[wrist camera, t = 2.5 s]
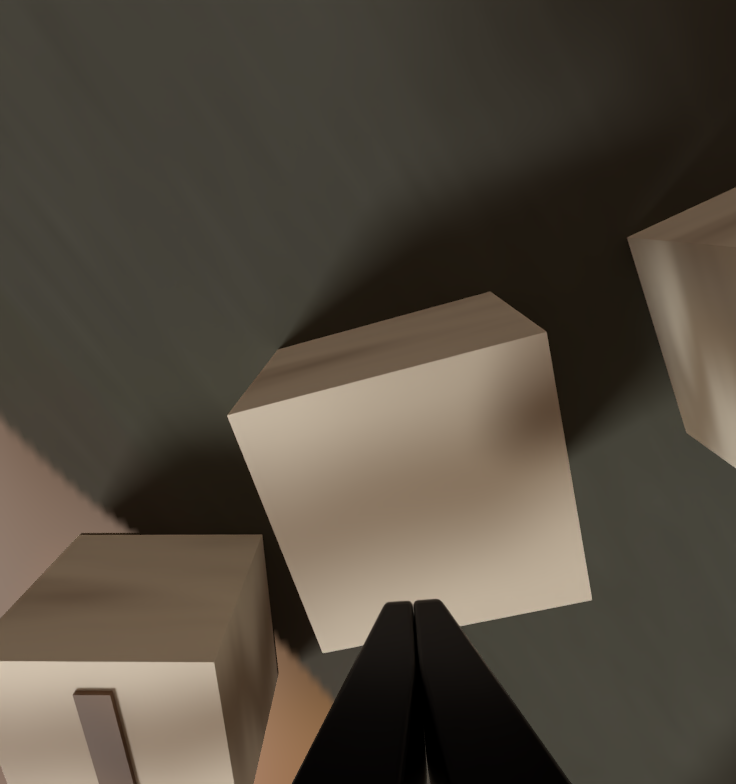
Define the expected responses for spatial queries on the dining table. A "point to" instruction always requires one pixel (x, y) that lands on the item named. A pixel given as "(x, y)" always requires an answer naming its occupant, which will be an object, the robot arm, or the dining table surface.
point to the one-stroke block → (139, 663)
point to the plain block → (417, 468)
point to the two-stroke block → (696, 313)
